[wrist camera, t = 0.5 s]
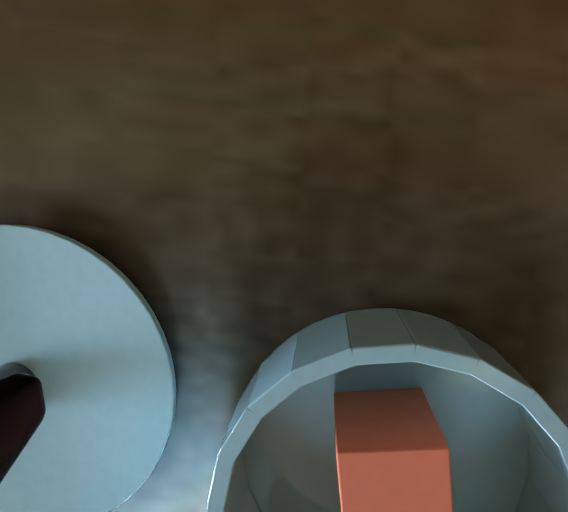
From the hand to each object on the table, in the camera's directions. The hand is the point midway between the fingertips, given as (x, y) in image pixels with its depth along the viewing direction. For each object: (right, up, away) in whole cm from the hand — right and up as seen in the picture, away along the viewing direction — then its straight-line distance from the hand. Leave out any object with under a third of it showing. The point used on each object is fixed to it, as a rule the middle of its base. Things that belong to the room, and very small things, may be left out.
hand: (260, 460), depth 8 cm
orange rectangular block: (+5, -6, +14) cm, 16 cm away
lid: (-12, -3, +15) cm, 19 cm away
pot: (+5, -6, +14) cm, 16 cm away
